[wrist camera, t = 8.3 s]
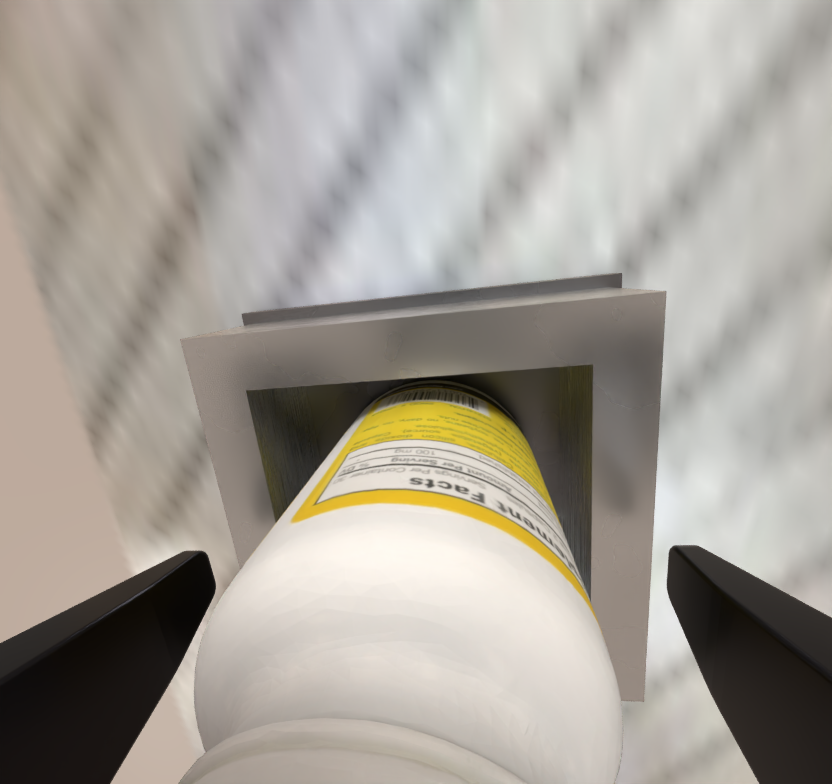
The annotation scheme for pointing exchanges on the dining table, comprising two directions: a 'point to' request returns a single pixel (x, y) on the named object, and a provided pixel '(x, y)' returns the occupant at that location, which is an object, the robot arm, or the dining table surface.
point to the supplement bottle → (411, 619)
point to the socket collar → (475, 367)
